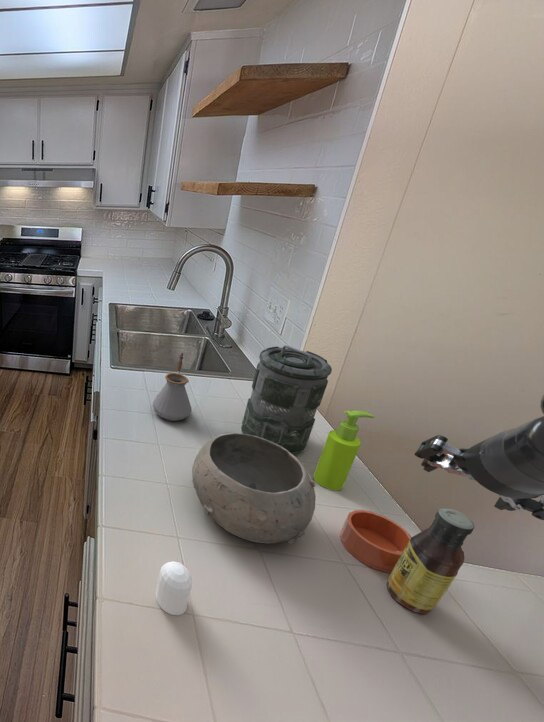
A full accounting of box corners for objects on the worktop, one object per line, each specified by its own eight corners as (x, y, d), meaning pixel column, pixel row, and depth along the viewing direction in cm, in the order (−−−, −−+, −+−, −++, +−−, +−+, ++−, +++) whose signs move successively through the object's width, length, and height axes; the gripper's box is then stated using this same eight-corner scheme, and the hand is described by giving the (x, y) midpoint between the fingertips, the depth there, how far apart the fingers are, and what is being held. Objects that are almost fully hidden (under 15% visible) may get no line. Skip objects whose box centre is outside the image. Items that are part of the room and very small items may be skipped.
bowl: (169, 477, 95) (178, 427, 89) (257, 471, 97) (271, 422, 91) (220, 564, 74) (236, 506, 68) (330, 554, 75) (355, 497, 70)
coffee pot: (188, 428, 113) (196, 384, 107) (148, 419, 118) (154, 376, 112) (193, 394, 131) (201, 354, 125) (159, 387, 135) (164, 348, 129)
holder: (400, 542, 78) (409, 524, 76) (411, 583, 70) (422, 564, 68) (338, 519, 83) (345, 502, 81) (341, 555, 75) (350, 537, 73)
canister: (317, 447, 105) (350, 355, 94) (281, 465, 99) (311, 368, 88) (263, 417, 118) (286, 333, 107) (228, 431, 112) (249, 343, 101)
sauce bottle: (386, 574, 72) (429, 493, 64) (432, 598, 68) (484, 515, 60) (382, 599, 68) (427, 515, 60) (431, 626, 63) (486, 540, 56)
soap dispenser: (353, 490, 91) (383, 420, 83) (323, 490, 91) (351, 420, 83) (335, 473, 96) (362, 405, 88) (307, 472, 96) (332, 405, 88)
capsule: (151, 585, 70) (156, 555, 67) (179, 583, 70) (186, 553, 67) (162, 616, 65) (168, 585, 62) (192, 614, 65) (200, 582, 62)
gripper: (627, 476, 44) (538, 496, 57) (463, 407, 53) (418, 437, 66) (596, 529, 44) (513, 537, 56) (435, 449, 52) (395, 472, 65)
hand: (462, 483), depth 61 cm, fingers open, 8 cm apart
